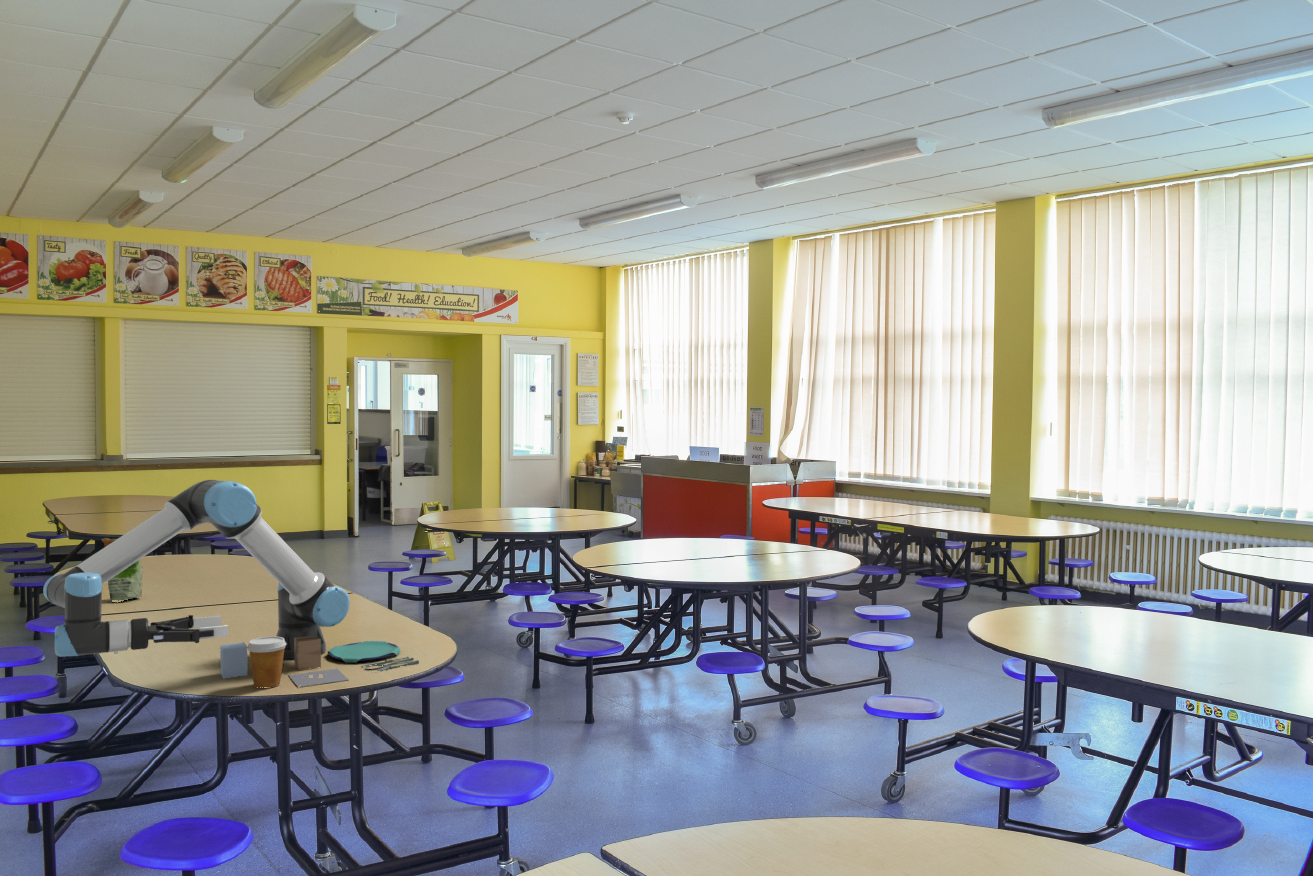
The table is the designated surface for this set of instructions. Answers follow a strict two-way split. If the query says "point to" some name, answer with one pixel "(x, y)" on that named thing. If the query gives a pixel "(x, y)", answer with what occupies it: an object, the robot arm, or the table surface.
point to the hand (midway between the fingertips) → (224, 625)
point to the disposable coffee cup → (266, 660)
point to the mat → (328, 677)
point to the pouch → (125, 580)
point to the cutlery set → (369, 653)
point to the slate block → (233, 660)
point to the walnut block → (307, 652)
